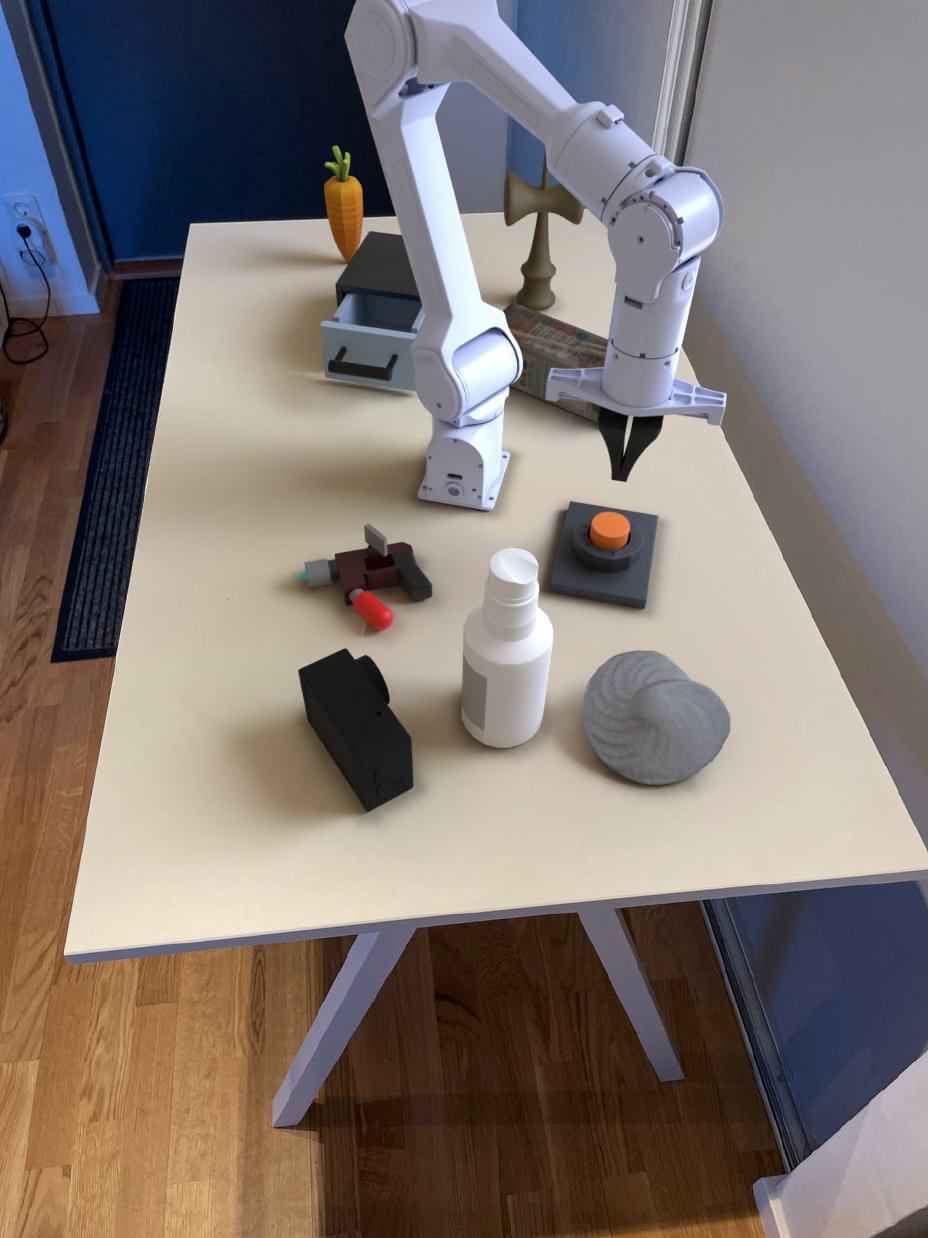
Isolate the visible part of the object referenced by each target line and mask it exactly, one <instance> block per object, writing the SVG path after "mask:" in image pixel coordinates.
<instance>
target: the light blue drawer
mask: <svg viewBox="0 0 928 1238" xmlns="http://www.w3.org/2000/svg"><path fill="white" fill-rule="evenodd" d="M336 309H337V310H336V311H335V312H334V314H333V316H332V320H333V321H330V320H322V321H321V322H320V325H319V330H320V331H319V332H320V333H319V334H320V343H321V351H322V358H323V360H322V361H323V367H324V369H323V370H324V376H325V378H326V379H331V380H340V381H346V382H352V383H359V384H365V385H372V386H379V387H385V388H392V389H397V390H404V391H411V392H416V388H415V383H414V371H415V368H414V361H413V357H412V354H411V351H410V348H411V345H412V342H413V340H414V338H415V336H416V334H417V332H418V330H419V328H420V326H421V324H422V322H423V320H424V318H425V312H424V309H423V306H422V302H417V301H410V300H403V299H395V298H388V297H381V296H374V295H367V294H359V293H352V292H348V293H347V295H346V296H345V298H344V300H343V301H342V303H341V304H340V306H339V308H336Z"/></svg>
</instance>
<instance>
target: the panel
mask: <svg viewBox="0 0 928 1238" xmlns="http://www.w3.org/2000/svg"><path fill="white" fill-rule="evenodd" d="M603 512H615V513H618V514H620V515H622V516H624V517H625V518H626V519H627V520H628V522H629V524H630V529H629V534H628V539H627V543H626V544H625V545H624V546H623V547H622V548H620V549H617V550H606V549H600V548H599V547H597V546H595V545H594V544H593V543H592V542H591V540H590V530H591V524H592V520H593V518H594V517H595V516H596V515H598V514H600V513H603ZM658 523H659V515H657V514H651V513H645V512H639V511H634V510H627V509H621V508H614V507H609V506H603V505H598V504H597V505H596V504H591V503H585V502H581V501H580V502H579V501H574V500H573V501H572V500H570V501H569V503H568V509H567V511H566V516H565V520H564V524H563V529H562V532H561V537H560V541H559V545H558V550H557V553H556V557H555V562H554V565H553V570H552V574H551V580H550V582H549V583H550V584H549V593H554V594H557V595H558V594H559V595H565V596H569V597H576V598H580V599H587V600H592V601H598V602H604V603H609V604H615V605H620V606H626V607H631V608H638V609H642V610H645V609H646V606H647V601H648V593H649V587H650V580H651V573H652V565H653V558H654V552H655V551H654V550H655V543H656V536H657V530H658V529H657V528H658Z"/></svg>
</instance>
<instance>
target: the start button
mask: <svg viewBox="0 0 928 1238" xmlns="http://www.w3.org/2000/svg"><path fill="white" fill-rule="evenodd" d="M629 529H630V524H629V522H628V520H627V519H626V518H625V517H624V516H622V515H620V514H618V513H615V512H603V513H600V514H598V515H596V516H595V517H594V518H593V520H592V524H591V530H590V540H591V542H592V543H593V544H594V545H595V546H597V547H599V548H600V549H606V550H617V549H620V548H622V547H623V546H624V545H625V544H626V543H627V539H628V534H629Z"/></svg>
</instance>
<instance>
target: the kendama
mask: <svg viewBox="0 0 928 1238" xmlns="http://www.w3.org/2000/svg"><path fill="white" fill-rule="evenodd" d="M550 178H551V173H550V172H549V171H548V168H547V163H546V148H545V150H544V156H543V163H542V172H541V182H540V186H539V185H534V184H531V183H528V182H527V181H526V180H524V179H523V178H522V177H520V176H519V175H517V173H515V172H513V171H511V170H509V171H507V172H506V175H505V180H504V189H503V218H504V223H505V225H506V227H511V226H513V225H515V224H517V223H518V222H519V221H520V220H522V219H523V218H525V217H527V216H528V215H531V214H536V221H535V227H534V232H533V238H532V241H531V246H530V250H529V254H528V257H527V259H526V261H525V262H524V263H522V264H521V266H520V272H521V275H522V276H523V284H522V287H521V289H519V290H518V291H517V293H516V301H517V303H518V305H520V306H524V307H526V308H529V309H532V310H535V311H541V310H546V309H549V308H551V307H553V306H554V305H555V303H556V295H555V293H554V291H553V290H552V289H551V283H552V282H551V281H552V279H553V277H555V275H556V273H557V268H556V265H555V264H554V263H553V262H552V260H551V254H550V239H549V238H550V235H549V214H555V215H557V216H560V217H562V218H563V219H565V220H567V222H569V223H572V225H576V226H578V225H580V224H581V223H582V221H583V217H584V212H585V208H586V207H585V206H584V205H583V204H582V203H581V202H580V201H579V200H578V199H576V198H575V197H574V196H573V195H572V194H571V193H570V192H569V191H568V190H567V189H566V188H565V187H564V186H563V185H562V184H561V183H558V184H556V185H550Z"/></svg>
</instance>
